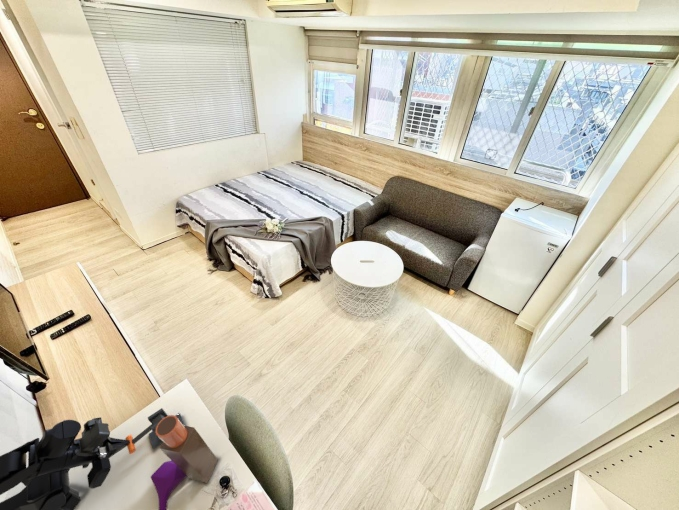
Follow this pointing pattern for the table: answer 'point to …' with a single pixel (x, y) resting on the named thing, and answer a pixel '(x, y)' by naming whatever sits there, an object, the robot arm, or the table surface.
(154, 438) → the switch base
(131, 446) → the switch lever
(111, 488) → the table surface
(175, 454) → the cup stand
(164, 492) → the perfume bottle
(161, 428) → the tea cup
